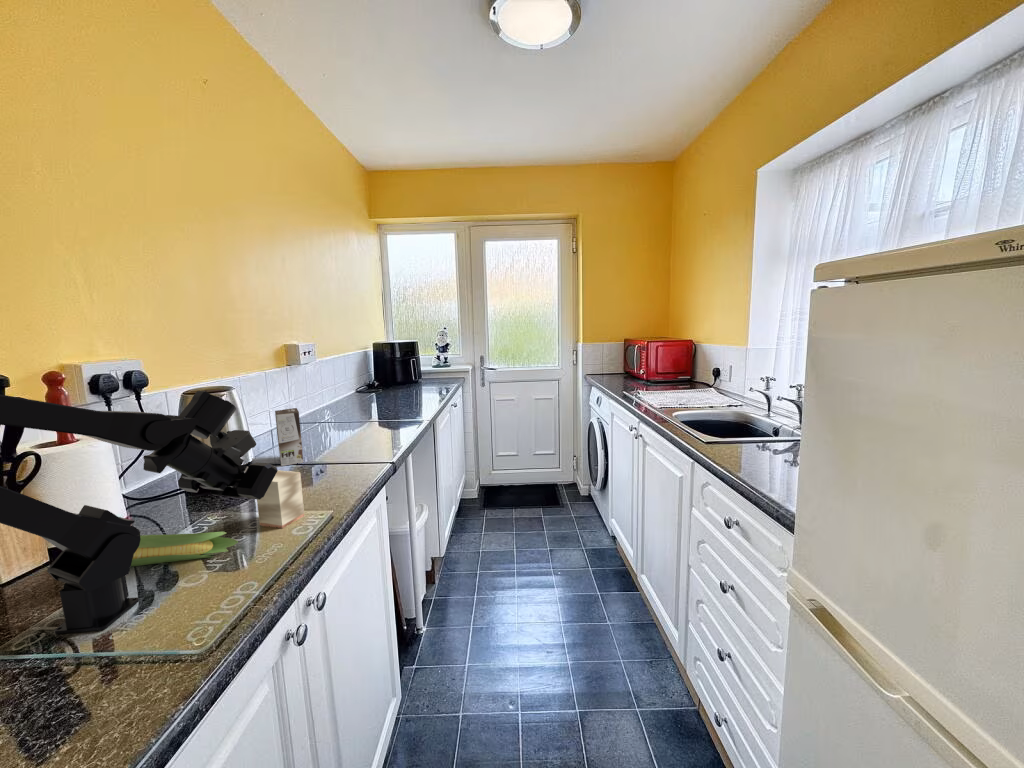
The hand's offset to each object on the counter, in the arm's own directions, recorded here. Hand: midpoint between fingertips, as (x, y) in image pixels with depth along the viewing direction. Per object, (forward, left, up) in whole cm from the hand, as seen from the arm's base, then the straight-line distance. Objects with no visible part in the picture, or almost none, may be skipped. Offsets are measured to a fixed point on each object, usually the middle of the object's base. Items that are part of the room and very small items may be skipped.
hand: (258, 495), depth 84 cm
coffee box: (+49, +14, -8) cm, 51 cm away
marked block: (+5, -2, -8) cm, 9 cm away
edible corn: (-9, +11, -8) cm, 16 cm away
